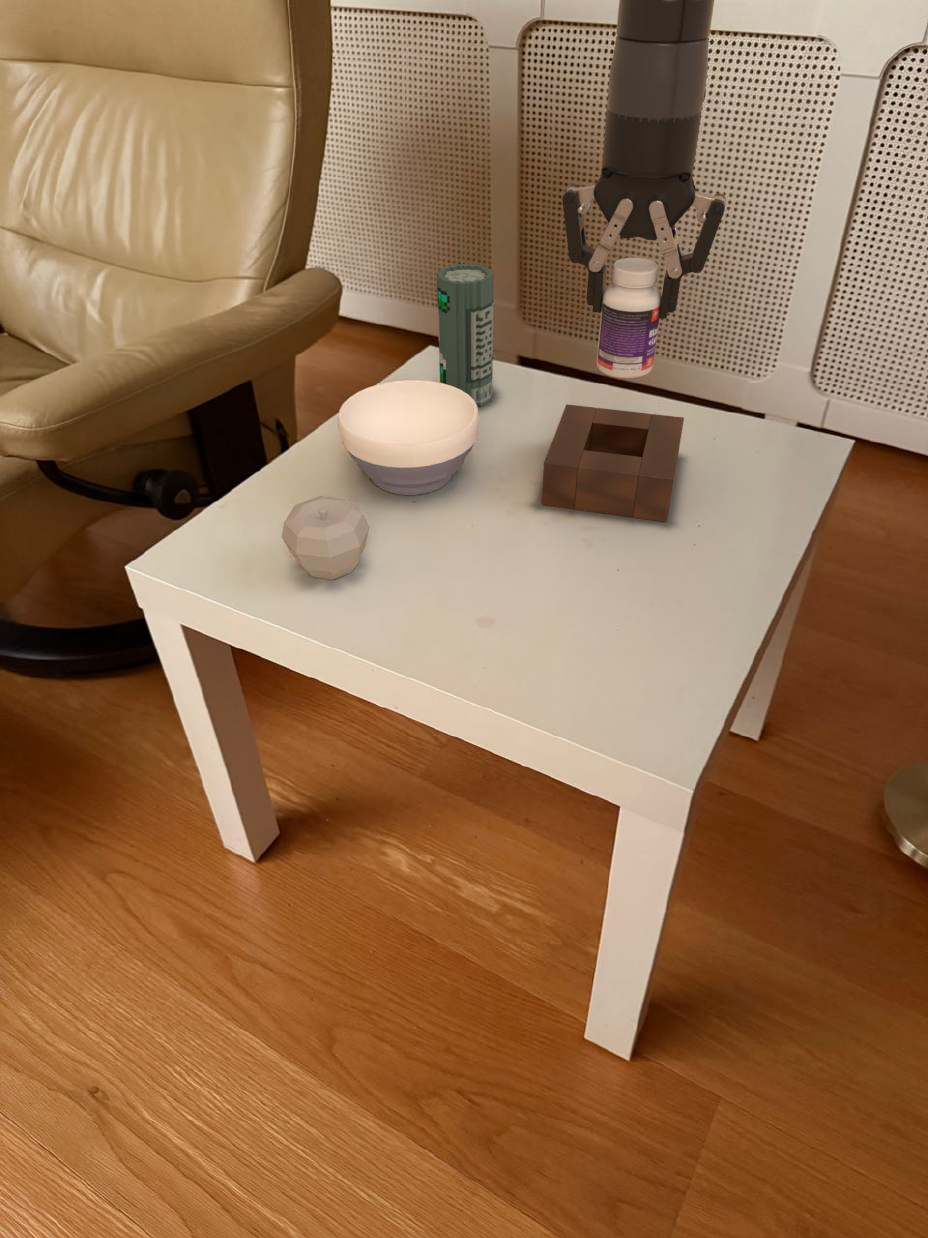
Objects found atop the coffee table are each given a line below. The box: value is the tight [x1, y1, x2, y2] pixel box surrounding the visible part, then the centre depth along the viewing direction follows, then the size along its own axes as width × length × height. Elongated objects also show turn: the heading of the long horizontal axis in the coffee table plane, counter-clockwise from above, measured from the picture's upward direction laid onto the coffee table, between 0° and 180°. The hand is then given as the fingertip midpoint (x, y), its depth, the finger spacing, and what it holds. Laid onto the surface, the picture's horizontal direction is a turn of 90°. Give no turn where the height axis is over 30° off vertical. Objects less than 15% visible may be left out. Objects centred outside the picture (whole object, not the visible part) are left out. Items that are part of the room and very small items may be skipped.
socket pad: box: [541, 404, 685, 523], centre depth 92 cm, size 13×13×5 cm
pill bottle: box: [596, 257, 662, 379], centre depth 81 cm, size 5×5×10 cm
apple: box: [281, 495, 370, 580], centre depth 80 cm, size 8×8×7 cm
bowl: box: [337, 379, 480, 496], centre depth 92 cm, size 14×14×8 cm
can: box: [436, 263, 495, 408], centre depth 103 cm, size 6×6×15 cm
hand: (630, 311), depth 81 cm, fingers closed on pill bottle, 5 cm apart
